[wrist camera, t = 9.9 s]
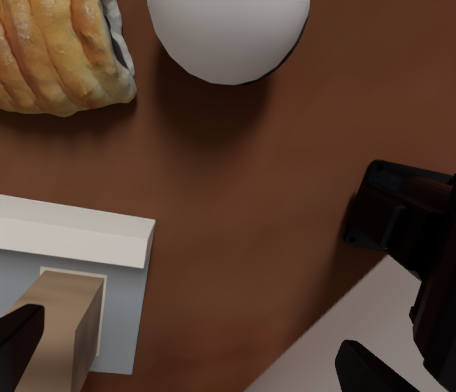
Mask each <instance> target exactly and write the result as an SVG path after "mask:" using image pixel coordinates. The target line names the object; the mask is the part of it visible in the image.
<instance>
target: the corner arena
mask: <svg viewBox="0 0 456 392" xmlns="http://www.w3.org/2000/svg"><path fill="white" fill-rule="evenodd" d="M154 227H155V220H153V219H147V218H140V217H134V216H128V215H122V214H116V213H110V212H104V211H98V210H91V209H85V208H79V207H73V206H67V205H61V204H55V203H49V202H42V201H36V200H30V199H24V198H18V197H12V196H6V195H0V318H1V317H2V316H3V315H4V314H5V313H6V312H7V311H8V310H9V309H10V308H11V307H12V306H13V304H14V303H15V302H16V301H17V300H18V299H19V298H20V297H21V296H22V295H23V294H24V293H25V292H26V290H27V289H28V288H29V287H30V286H31V285H32V284H33V283H34V282H35V281H36V280H37V279H38V278H39V276H40V275H41V274H42V273H43V272H44V271H45V270H47V271H54V272H62V273H69V274H77V275H84V276H92V277H99V278H104V286H103V296H102V305H101V315H100V324H99V334H98V344H97V353H96V356H95V358H94V360H93V363H92V365H91V367H90V370H89V371H95V372H106V373H118V374H129V375H132V371H133V365H134V358H135V352H136V345H137V338H138V332H139V325H140V319H141V312H142V306H143V299H144V293H145V286H146V279H147V273H148V266H149V260H150V253H151V247H152V240H153V234H154Z"/></svg>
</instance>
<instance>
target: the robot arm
mask: <svg viewBox="0 0 456 392" xmlns="http://www.w3.org/2000/svg"><path fill="white" fill-rule="evenodd" d="M379 164H380V168H379V169H378V170H376V167H377V165H379ZM448 180H449V181H448ZM447 181H448V183H447V184H446V182H447ZM350 237H353V238H352V239H351V240H349V239H350ZM343 239H344V241H345V242H346V243H347V244H348V245H350V246H355V247H361V248H367V249H373V250H379V251H385V252H386V253H387V254H388V255H390V256H391V257H392V258H393V259H394V260H396V261H397V262H398V263H399V264H400V265H402V266H403V267H404V268H405V269H406V270H408V271H409V272H410V273H411V274H412V275H414V276H415V277H416V278H417V279H418V280H420V281H421V282H422V283H421V286H420V289H419V292H418V295H417V298H416V301H415V304H414V306H412V307H411V310H410V313H409V317H410V319H411V321H412V323H413V338H414V342H415V344H416V345H417V347H418V349H419V351H420V353H421V355H422V356H423V358H424V361H423V365H424V367H425V368H426V370H427V371H428V372H429V373H430V374H431V375H432V376H433V377H434V378H435V379H436V381H438V382H439V384H440V385H441V386H443V387H444V388H445V389H446V390H447V391H448V392H456V173H455V174H454V176H451V175H448V174H444V173H439V172H434V171H430V170H425V169H420V168H416V167H411V166H407V165H402V164H397V163H393V162H388V161H384V160H374V161H373V162H371V164H370V166H369V169H368V172H367V174H366V177H365V180H364V182H363V185H362V187H361V188H360V190H359V193H358V195H357V198H356V201H355V203H354V206H353V209H352V212H351V214H350V217H349V223H348V226H347V228H346V231H345V234H344V237H343ZM44 324H45V307H44V306H43V305H41V304H33V303H28V304H25V305H23V306H21V307H19V308H18V309H16V310H14V311H12V312H10V313H8V314H6V315H4V316H3V317H1V318H0V392H14V391H15V389H16V387H17V385H18V383H19V382H20V380H21V378H22V376H23V374H24V372H25V370H26V368H27V366H28V364H29V362H30V360H31V358H32V356H33V354H34V352H35V350H36V348H37V346H38V344H39V342H40V340H41V338H42V336H43V333H44ZM335 368H336V371H337V375H338V379H339V382H340V386H341V390H342V392H420V391H419V390H417V389H416V388H415V387H413V386H412V385H411V384H410V383H409V382H407V381H406V380H405V379H404V378H402V377H401V376H400V375H399V374H398V373H396V372H395V371H394V370H393V369H391V368H390V367H389V366H387V365H386V364H385V363H384V362H383V361H381V360H380V359H379V358H378V357H376V356H375V355H374V354H373V353H371V352H370V351H369V350H368V349H366V348H365V347H364V346H363V345H362V344H360V343H359V342H357V341H354V340H344V341H343V342H342V344H341V346H340V349H339V351H338V354H337V356H336V359H335Z"/></svg>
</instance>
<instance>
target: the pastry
mask: <svg viewBox="0 0 456 392" xmlns="http://www.w3.org/2000/svg"><path fill="white" fill-rule="evenodd" d="M121 28H122V19H121V13H120V11H119V8H118V5H117V1H116V0H0V109H3V110H6V111H9V112H19V113H23V114H40V113H49V114H53V115H57V116H60V117H67V116H70V115H73V114H74V113H76V112H77V111H82V110H89V109H96V108H100V107H105V106H107V105H111V104H115V103H129V102H130V101H131V100H132V99H134V97H135V95H136V92H137V88H136V85H135V82H134V79H133V78H134V75H135V72H134V66H133V62H132V58H131V56H130V54H129V52H128V48H127V45H126V43H125V41H124V39H123V37H122V30H121Z"/></svg>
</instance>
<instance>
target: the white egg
mask: <svg viewBox="0 0 456 392" xmlns="http://www.w3.org/2000/svg"><path fill="white" fill-rule="evenodd" d="M147 5H148V8H149V12H150V15H151V19H152V22H153V26H154V29H155V33H156V34H157V36H158V38H159V39H160V41H161V42H162V44H163V46H164V47H165V49H166V51H167V52H168V54H169V55H170V57H171V58H173V59H174V60H175V61H176V62H177V63H178V64H179V65H180V66H182V67H183V68H184V69H185V70H186V71H187V72H188V73H190V74H192V75H194V76H196V77H199V78H201V79H203V80H205V81H208V82H210V83H216V84H227V85H237V84H241V83H243V86H244V85H248V84H251V83H254V82H256V81H259V80H261V79H263V78H265V77H266V76H268V75H270V74H271V73H272V72H274V71H275V70H276V69H278V68H279V67H280V66H281V65H282V64H283V63H284V62H285V61H286V60H287V58H288V57H289V56H290V55H291V53H292V52H293V50H294V49H295V47H296V46H297V44H298V42H299V40H300V38H301V36H302V34H303V31H304V29H305V26H306V23H307V19H308V15H309V5H310V0H147Z"/></svg>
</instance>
